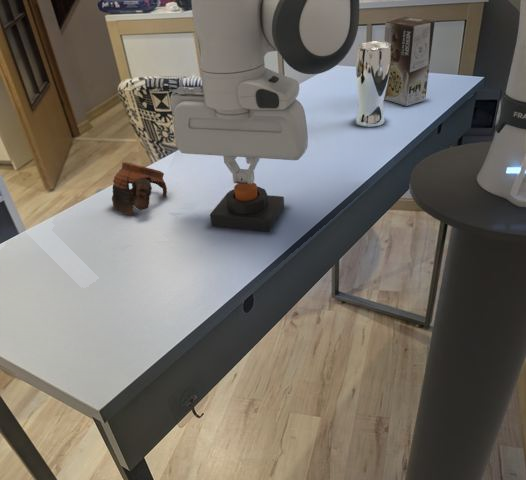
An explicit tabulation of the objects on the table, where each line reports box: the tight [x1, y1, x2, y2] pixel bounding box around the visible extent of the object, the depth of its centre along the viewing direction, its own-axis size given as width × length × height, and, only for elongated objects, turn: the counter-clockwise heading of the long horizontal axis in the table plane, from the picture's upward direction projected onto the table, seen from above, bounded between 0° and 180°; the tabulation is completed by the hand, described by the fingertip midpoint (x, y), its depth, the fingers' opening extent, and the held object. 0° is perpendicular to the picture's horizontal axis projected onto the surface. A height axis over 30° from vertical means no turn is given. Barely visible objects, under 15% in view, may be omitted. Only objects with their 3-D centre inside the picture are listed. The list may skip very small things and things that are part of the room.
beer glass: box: [355, 40, 391, 128], centre depth 109 cm, size 7×7×15 cm
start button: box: [233, 182, 258, 201], centre depth 83 cm, size 4×4×2 cm
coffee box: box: [383, 16, 436, 107], centre depth 118 cm, size 9×6×16 cm
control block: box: [209, 185, 285, 233], centre depth 84 cm, size 10×8×4 cm
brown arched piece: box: [111, 161, 168, 216], centre depth 90 cm, size 12×10×8 cm
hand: (244, 182), depth 82 cm, fingers closed
